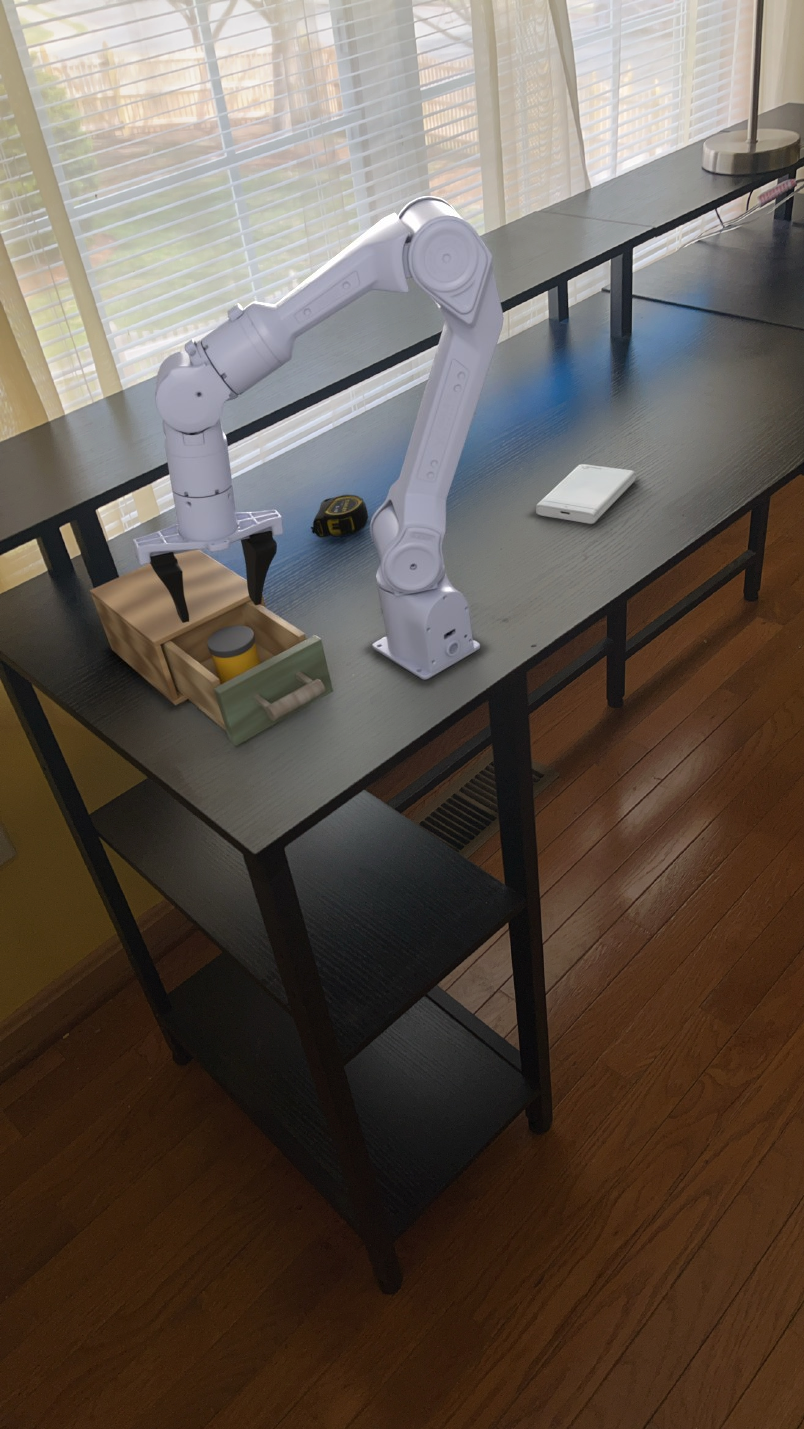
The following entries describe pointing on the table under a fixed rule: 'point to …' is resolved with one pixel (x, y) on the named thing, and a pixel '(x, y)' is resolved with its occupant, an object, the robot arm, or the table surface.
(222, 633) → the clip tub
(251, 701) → the drawer
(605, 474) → the hard drive
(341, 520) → the tape measure
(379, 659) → the table surface
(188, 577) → the cabinet
